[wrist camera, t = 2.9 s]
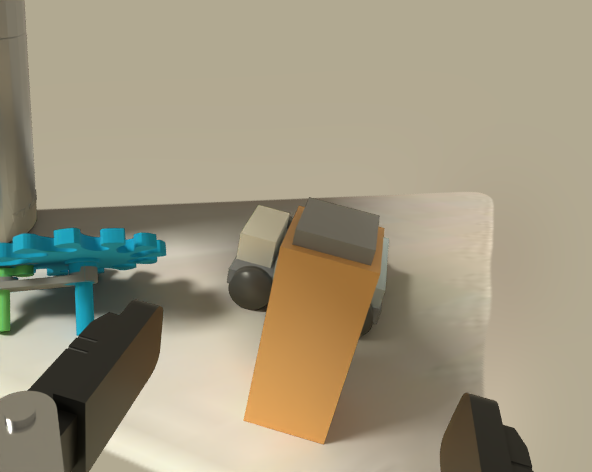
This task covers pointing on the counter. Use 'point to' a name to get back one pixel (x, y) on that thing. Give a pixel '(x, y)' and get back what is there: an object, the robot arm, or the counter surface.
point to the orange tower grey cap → (314, 317)
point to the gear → (70, 264)
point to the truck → (263, 258)
